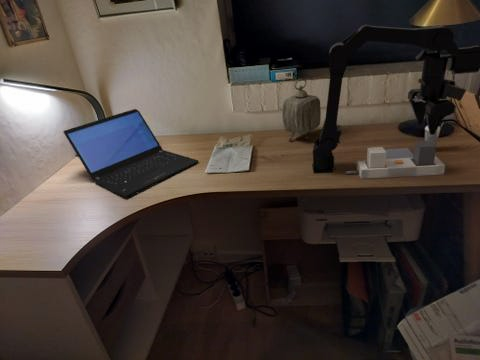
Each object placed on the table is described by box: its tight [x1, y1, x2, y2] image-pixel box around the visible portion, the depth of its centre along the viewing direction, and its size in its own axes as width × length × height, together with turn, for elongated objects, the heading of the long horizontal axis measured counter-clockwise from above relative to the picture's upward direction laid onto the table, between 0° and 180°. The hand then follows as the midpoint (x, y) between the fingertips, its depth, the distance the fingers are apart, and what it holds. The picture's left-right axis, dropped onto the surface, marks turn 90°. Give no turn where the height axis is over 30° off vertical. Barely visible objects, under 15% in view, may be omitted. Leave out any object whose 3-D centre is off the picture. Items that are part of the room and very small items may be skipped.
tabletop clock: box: [281, 77, 321, 142], centre depth 135 cm, size 14×9×25 cm, turn 133°
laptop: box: [62, 108, 199, 199], centre depth 129 cm, size 33×38×19 cm
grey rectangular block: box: [412, 140, 438, 166], centre depth 102 cm, size 4×4×9 cm
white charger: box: [366, 146, 386, 169], centre depth 105 cm, size 4×4×8 cm
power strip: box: [345, 155, 446, 179], centre depth 105 cm, size 28×7×4 cm, turn 83°
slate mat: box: [384, 147, 414, 159], centre depth 115 cm, size 10×10×1 cm
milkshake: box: [424, 121, 445, 146], centre depth 114 cm, size 4×5×10 cm
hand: (425, 129), depth 99 cm, fingers open, 9 cm apart
